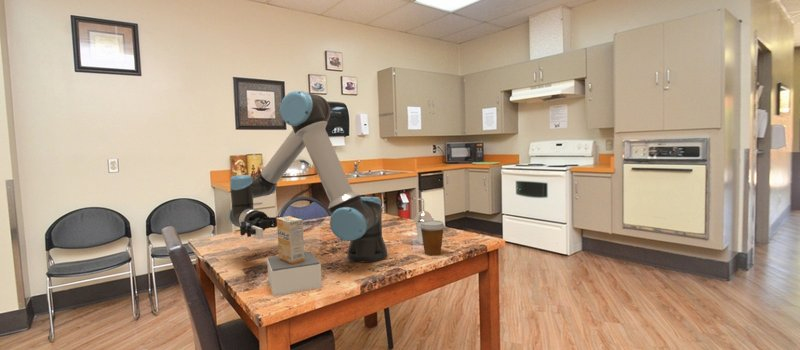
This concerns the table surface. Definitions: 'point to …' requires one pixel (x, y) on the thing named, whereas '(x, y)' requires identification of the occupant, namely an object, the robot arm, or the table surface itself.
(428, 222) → the disposable coffee cup
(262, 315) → the table surface
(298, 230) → the supplement box
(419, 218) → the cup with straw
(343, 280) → the table surface
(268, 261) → the riser block
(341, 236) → the robot arm
